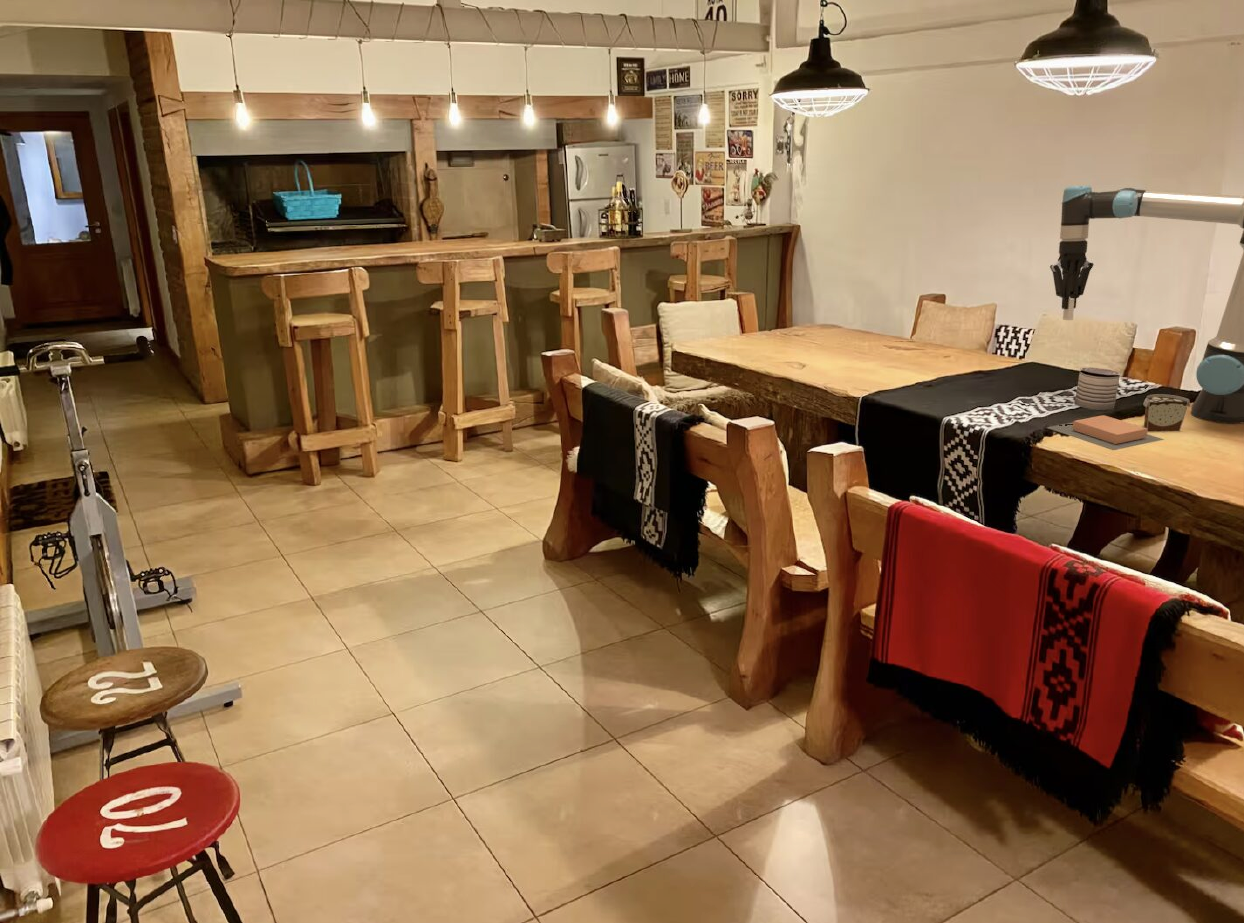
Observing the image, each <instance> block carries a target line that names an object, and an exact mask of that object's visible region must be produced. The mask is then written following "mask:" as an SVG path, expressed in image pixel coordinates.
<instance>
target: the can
mask: <svg viewBox="0 0 1244 923" xmlns="http://www.w3.org/2000/svg"><path fill="white" fill-rule="evenodd" d="M1079 370H1080V371H1079V375H1078V381H1077V387H1076V393H1075V400H1074V404H1075V405H1076V406H1079V407H1080V408H1084V409H1088V410H1097V411H1111V409H1113V408H1114V409H1115V405H1116V398H1117V393H1118V388H1119V382H1120V376H1121V375H1122V374H1121V372H1119V371H1116V370H1111V369H1107V368H1106V369H1105V368H1099V367H1080V368H1079ZM1114 409H1113V410H1114Z"/></svg>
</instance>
